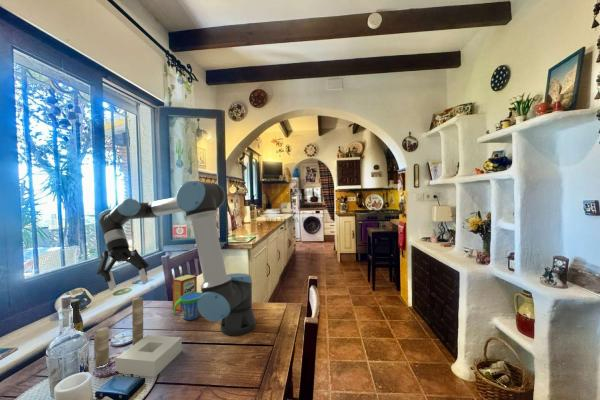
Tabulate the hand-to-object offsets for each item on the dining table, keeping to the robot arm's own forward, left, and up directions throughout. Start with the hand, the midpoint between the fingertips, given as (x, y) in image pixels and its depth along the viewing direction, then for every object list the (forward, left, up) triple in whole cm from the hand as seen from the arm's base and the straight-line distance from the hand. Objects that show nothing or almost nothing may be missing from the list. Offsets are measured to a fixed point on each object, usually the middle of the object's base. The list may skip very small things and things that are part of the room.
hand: (130, 285), depth 104 cm
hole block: (-20, +14, -21) cm, 32 cm away
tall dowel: (-8, +6, -21) cm, 23 cm away
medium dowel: (-5, +18, -21) cm, 28 cm away
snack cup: (-15, -19, -21) cm, 32 cm away
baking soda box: (-5, -29, -21) cm, 36 cm away
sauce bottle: (+11, +15, -21) cm, 28 cm away
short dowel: (0, +14, -21) cm, 25 cm away
